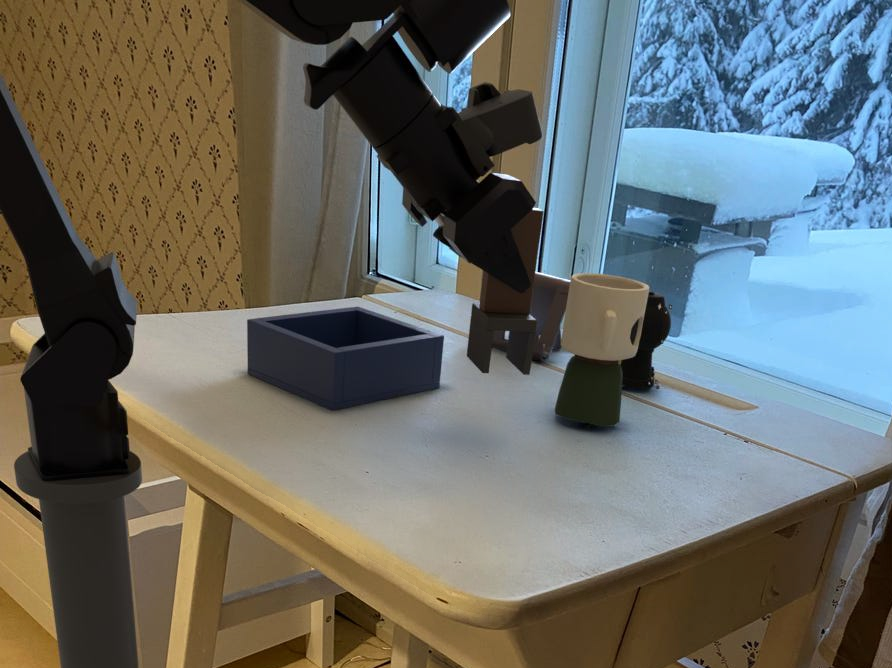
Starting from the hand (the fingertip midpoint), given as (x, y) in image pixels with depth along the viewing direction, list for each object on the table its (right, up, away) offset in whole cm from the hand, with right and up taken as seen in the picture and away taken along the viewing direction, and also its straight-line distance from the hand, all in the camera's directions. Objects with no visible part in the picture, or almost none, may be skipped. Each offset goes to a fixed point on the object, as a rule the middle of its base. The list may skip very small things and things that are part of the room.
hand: (523, 286), depth 79 cm
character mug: (+7, -8, +14) cm, 17 cm away
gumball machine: (+13, -1, +26) cm, 29 cm away
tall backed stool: (-2, -6, +3) cm, 7 cm away
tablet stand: (+2, +5, +35) cm, 35 cm away
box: (-17, -3, +16) cm, 23 cm away
